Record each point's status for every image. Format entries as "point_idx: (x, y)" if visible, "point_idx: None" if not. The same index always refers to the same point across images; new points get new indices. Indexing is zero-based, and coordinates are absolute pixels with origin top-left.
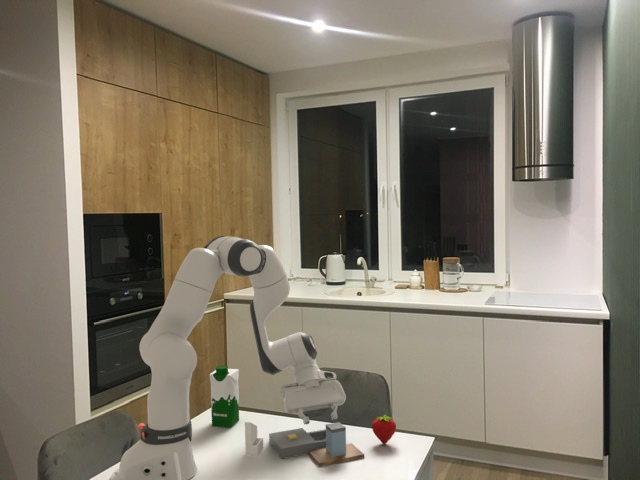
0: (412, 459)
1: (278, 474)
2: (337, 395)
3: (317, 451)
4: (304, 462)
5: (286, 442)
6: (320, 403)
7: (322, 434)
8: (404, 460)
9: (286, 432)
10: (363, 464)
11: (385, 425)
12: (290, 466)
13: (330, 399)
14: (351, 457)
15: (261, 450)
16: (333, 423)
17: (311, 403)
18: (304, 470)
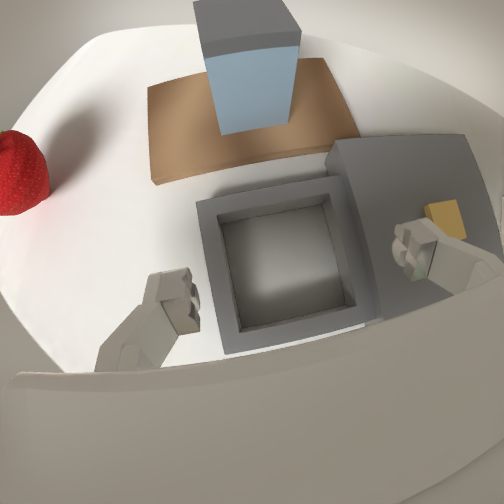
0: (48, 92)
1: (430, 75)
2: (41, 434)
3: (325, 131)
4: (371, 102)
5: (458, 180)
6: (319, 343)
7: (270, 325)
8: (65, 85)
9: None
10: (174, 60)
11: (5, 131)
12: (410, 96)
13: (143, 401)
14: (198, 75)
15: (500, 236)
16: (246, 32)
17: (445, 316)
18: (367, 64)
